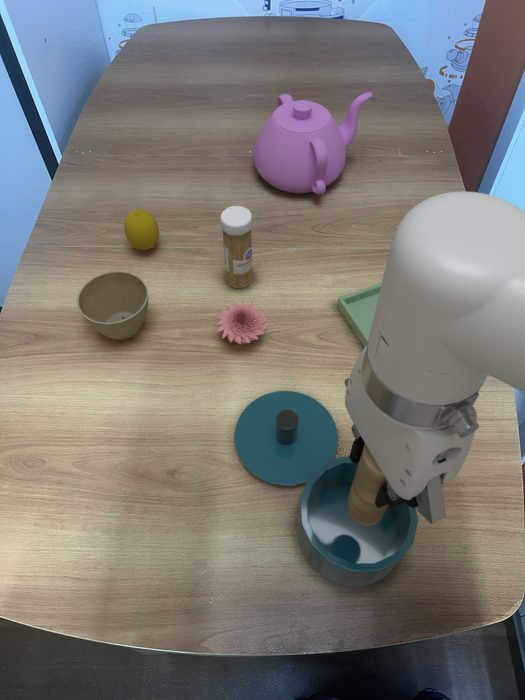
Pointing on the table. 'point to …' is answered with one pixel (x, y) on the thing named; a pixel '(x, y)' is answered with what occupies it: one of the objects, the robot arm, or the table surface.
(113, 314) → the bowl
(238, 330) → the flower
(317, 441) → the pot lid
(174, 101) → the table surface
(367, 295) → the tray
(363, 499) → the stick
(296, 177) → the teapot
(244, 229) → the sprinkles bottle
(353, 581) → the pot
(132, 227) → the lemon
